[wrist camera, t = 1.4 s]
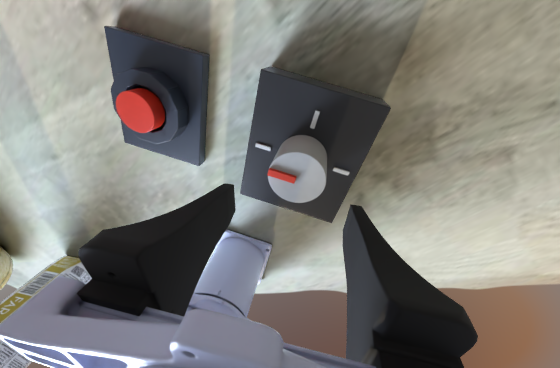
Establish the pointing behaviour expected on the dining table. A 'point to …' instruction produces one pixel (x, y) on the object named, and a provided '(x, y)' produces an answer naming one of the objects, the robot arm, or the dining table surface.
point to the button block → (163, 91)
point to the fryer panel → (315, 123)
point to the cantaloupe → (5, 267)
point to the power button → (140, 110)
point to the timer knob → (299, 169)
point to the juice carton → (3, 358)
